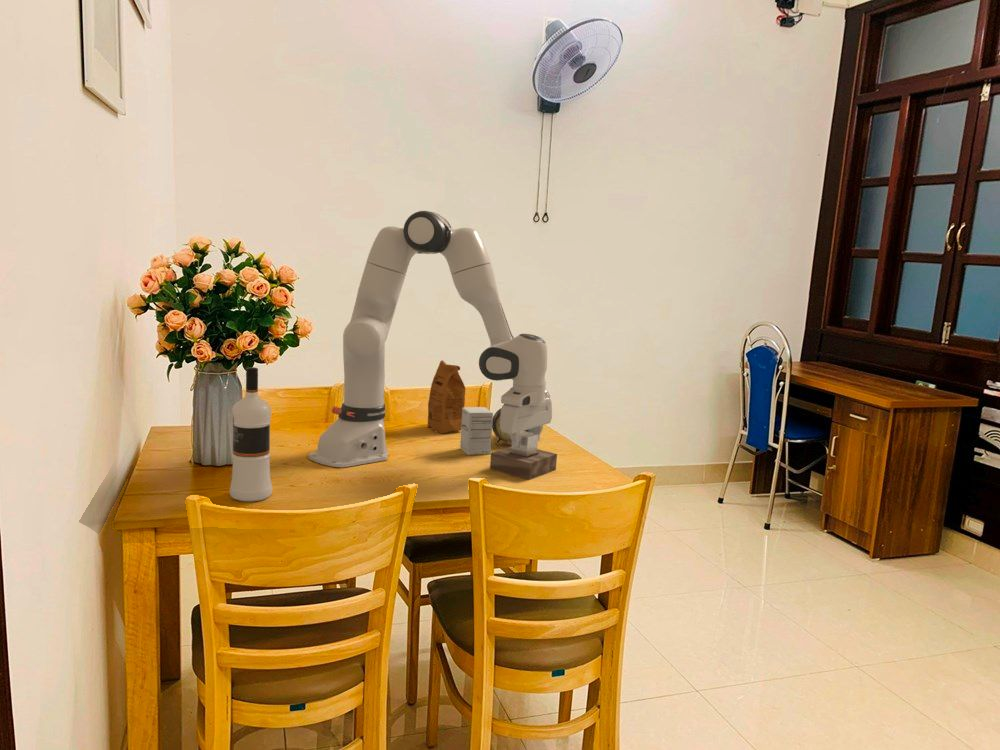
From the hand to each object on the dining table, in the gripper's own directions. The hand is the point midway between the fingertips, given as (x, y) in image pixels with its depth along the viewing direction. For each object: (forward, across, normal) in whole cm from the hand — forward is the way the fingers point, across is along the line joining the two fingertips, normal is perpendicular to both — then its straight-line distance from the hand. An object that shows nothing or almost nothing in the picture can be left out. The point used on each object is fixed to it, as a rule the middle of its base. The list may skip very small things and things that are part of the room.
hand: (525, 444), depth 207 cm
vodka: (+7, +65, -31) cm, 73 cm away
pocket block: (+7, 0, 0) cm, 7 cm away
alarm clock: (+7, -18, -18) cm, 26 cm away
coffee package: (+7, -17, -43) cm, 47 cm away
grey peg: (+7, 0, 0) cm, 7 cm away
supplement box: (+7, -4, -20) cm, 22 cm away
